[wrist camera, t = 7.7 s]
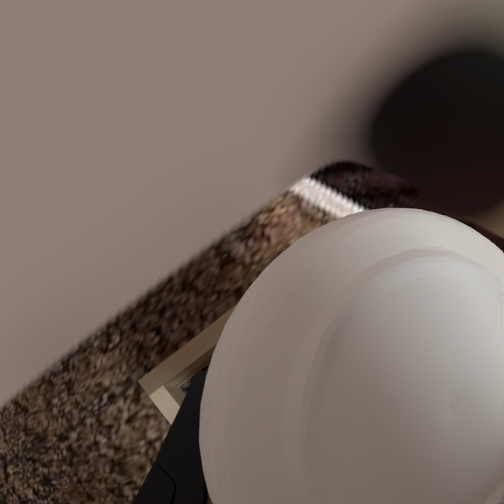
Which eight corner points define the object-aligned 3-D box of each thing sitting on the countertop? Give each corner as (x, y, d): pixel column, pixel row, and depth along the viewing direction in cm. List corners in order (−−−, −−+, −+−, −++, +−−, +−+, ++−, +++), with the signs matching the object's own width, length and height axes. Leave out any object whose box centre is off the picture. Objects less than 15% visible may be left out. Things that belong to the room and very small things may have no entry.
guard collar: (384, 395, 15) (415, 393, 12) (266, 502, 13) (271, 526, 10) (281, 285, 18) (289, 260, 15) (158, 384, 15) (137, 380, 12)
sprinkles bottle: (331, 394, 15) (587, 337, 2) (273, 463, 13) (436, 630, 1) (261, 338, 16) (381, 127, 4) (199, 406, 14) (72, 449, 2)
